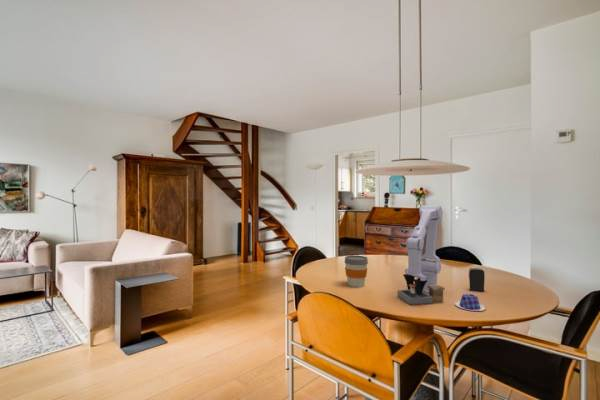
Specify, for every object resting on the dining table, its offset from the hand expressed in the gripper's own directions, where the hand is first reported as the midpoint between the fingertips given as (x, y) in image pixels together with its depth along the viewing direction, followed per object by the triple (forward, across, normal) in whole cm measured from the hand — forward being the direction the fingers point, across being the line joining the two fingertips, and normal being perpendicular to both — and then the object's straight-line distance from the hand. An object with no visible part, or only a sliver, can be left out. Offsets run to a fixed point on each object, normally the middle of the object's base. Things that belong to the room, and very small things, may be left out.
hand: (414, 291), depth 142 cm
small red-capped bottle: (+3, 0, 0) cm, 3 cm away
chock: (+4, +3, +9) cm, 10 cm away
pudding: (+4, +12, +19) cm, 23 cm away
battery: (+4, -8, +39) cm, 40 cm away
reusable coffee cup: (+4, -28, -19) cm, 34 cm away
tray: (+4, 0, 0) cm, 4 cm away
